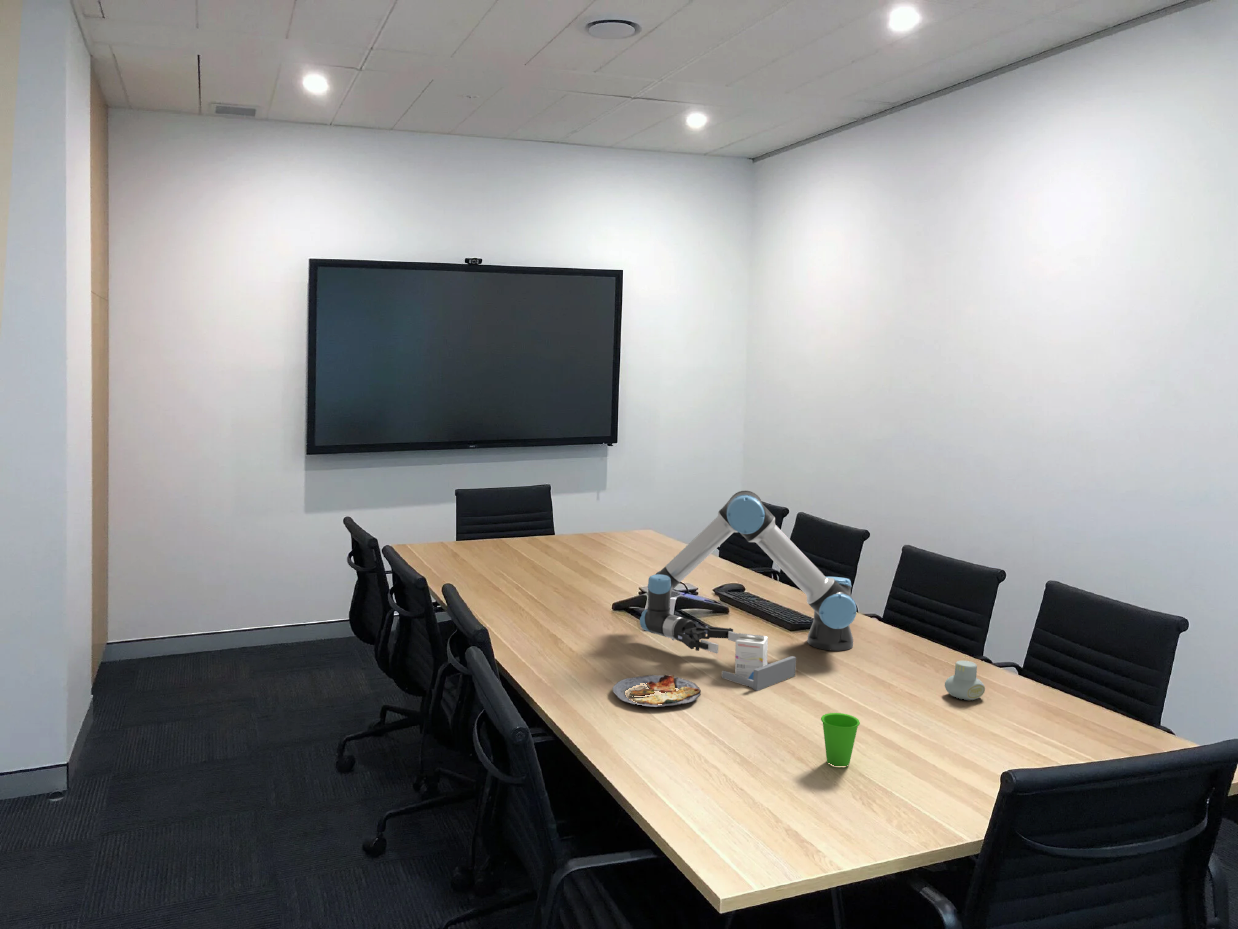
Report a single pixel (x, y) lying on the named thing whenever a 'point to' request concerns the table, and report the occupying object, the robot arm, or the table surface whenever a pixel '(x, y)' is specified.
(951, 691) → the air freshener
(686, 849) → the table surface
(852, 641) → the robot arm
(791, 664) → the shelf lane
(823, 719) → the cup
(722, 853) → the table surface
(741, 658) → the ink box
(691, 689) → the food plate
